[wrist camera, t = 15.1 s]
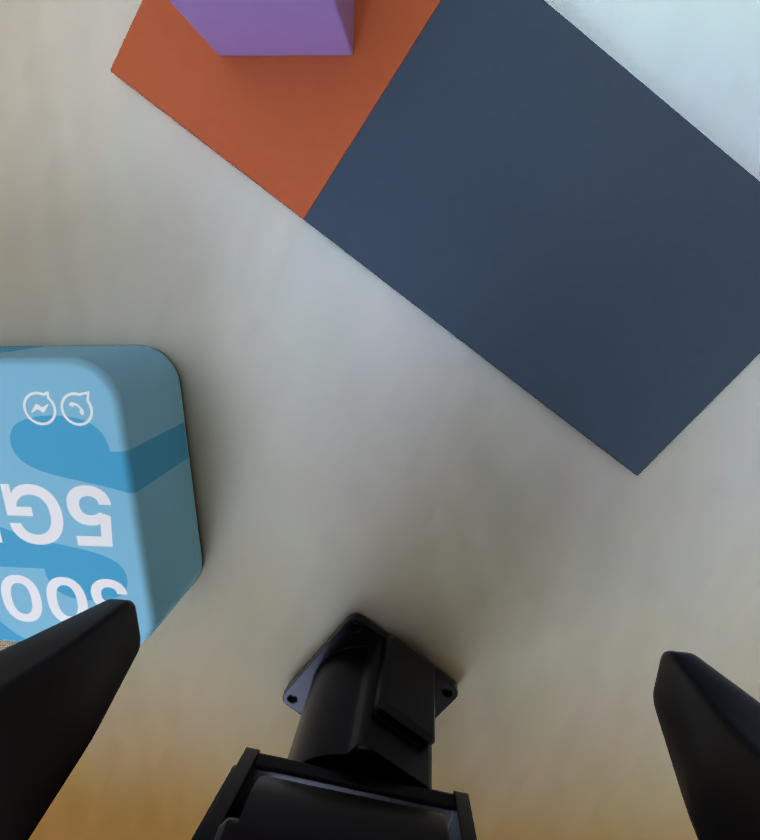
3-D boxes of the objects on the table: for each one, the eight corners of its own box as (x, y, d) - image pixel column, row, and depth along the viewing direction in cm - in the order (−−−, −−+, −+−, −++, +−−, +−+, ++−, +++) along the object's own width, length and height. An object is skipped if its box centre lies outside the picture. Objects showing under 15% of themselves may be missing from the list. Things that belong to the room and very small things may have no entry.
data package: (111, 357, 17) (157, 653, 20) (177, 344, 21) (208, 588, 24) (-192, 359, 18) (-104, 636, 21) (-70, 346, 22) (-12, 577, 25)
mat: (846, 260, 18) (853, 259, 17) (634, 473, 20) (637, 475, 20) (258, -233, 16) (255, -244, 16) (114, 73, 19) (109, 70, 18)
